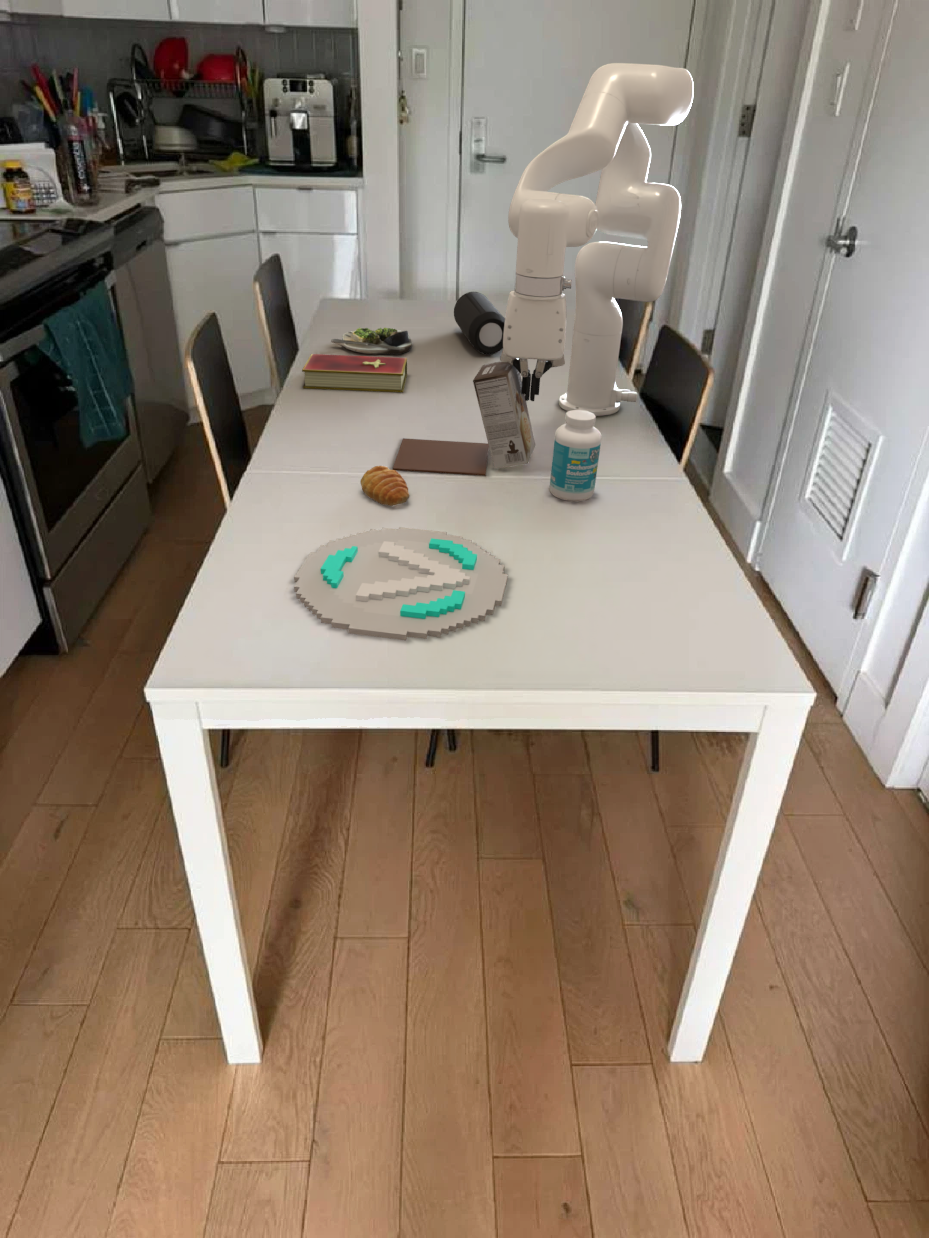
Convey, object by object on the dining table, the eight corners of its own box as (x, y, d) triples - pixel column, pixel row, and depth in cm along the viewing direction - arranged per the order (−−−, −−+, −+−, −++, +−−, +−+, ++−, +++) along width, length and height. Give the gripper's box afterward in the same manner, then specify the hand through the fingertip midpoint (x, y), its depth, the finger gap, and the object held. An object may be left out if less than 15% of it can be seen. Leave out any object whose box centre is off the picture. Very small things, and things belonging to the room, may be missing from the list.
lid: (489, 650, 107) (490, 639, 106) (267, 623, 110) (266, 612, 109) (516, 544, 130) (516, 534, 129) (332, 524, 133) (331, 515, 132)
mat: (489, 445, 162) (489, 443, 162) (485, 476, 151) (485, 473, 150) (402, 440, 163) (402, 438, 163) (392, 470, 151) (392, 468, 151)
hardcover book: (312, 371, 196) (311, 352, 194) (407, 375, 196) (407, 356, 194) (303, 388, 186) (301, 368, 183) (402, 392, 186) (402, 372, 184)
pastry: (420, 503, 140) (420, 481, 138) (382, 512, 137) (381, 490, 135) (392, 482, 147) (392, 460, 145) (356, 490, 144) (355, 468, 142)
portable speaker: (511, 357, 210) (513, 314, 205) (470, 358, 208) (471, 314, 203) (488, 329, 231) (490, 289, 226) (451, 329, 229) (452, 289, 224)
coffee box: (502, 450, 161) (482, 364, 153) (536, 445, 159) (517, 357, 151) (493, 470, 153) (471, 379, 145) (529, 464, 151) (509, 372, 144)
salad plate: (332, 358, 205) (331, 337, 202) (329, 336, 219) (329, 317, 217) (415, 357, 208) (415, 337, 205) (407, 336, 222) (407, 317, 220)
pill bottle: (564, 506, 142) (573, 425, 134) (540, 488, 147) (547, 410, 140) (603, 498, 145) (613, 419, 137) (577, 481, 150) (586, 404, 143)
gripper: (584, 283, 143) (572, 394, 153) (492, 278, 143) (486, 389, 153) (586, 293, 137) (574, 408, 147) (490, 288, 137) (484, 403, 147)
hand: (529, 398), depth 150 cm, fingers closed
